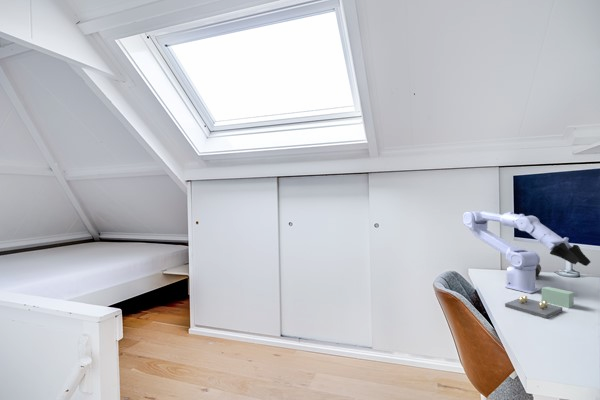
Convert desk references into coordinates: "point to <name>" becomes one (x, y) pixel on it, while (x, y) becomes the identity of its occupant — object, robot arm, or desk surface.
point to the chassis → (534, 307)
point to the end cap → (538, 269)
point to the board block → (558, 297)
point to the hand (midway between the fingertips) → (582, 263)
